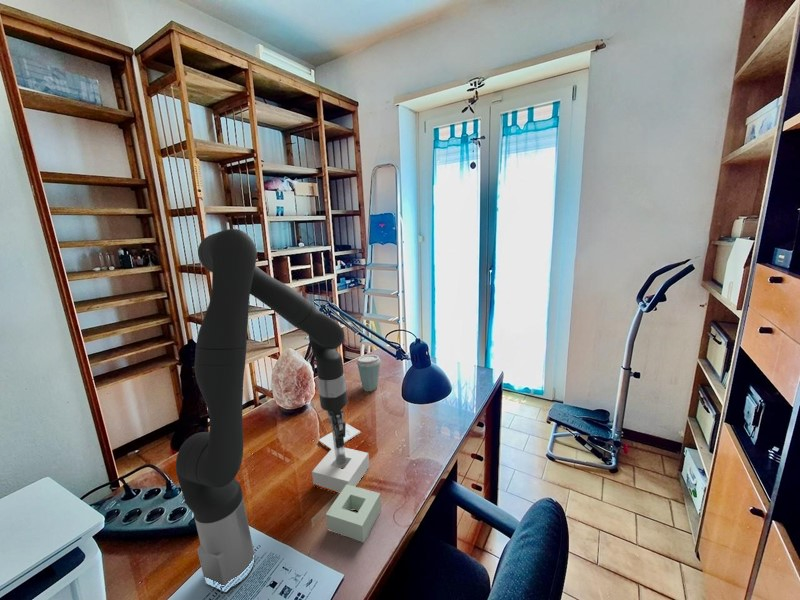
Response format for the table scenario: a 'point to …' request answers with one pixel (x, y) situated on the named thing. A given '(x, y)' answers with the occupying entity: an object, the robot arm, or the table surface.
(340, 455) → the steel pin
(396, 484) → the table surface
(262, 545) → the table surface
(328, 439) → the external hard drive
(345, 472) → the dock block
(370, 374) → the disposable coffee cup
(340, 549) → the table surface
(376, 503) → the block
